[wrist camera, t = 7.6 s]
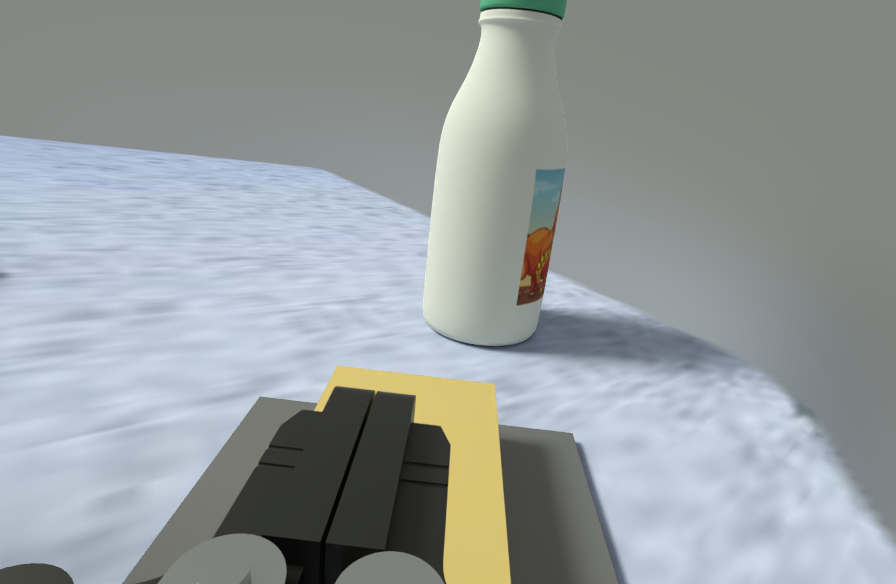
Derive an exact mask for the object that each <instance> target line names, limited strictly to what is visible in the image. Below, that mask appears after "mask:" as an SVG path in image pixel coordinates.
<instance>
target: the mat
mask: <svg viewBox="0 0 896 584" xmlns="http://www.w3.org/2000/svg"><path fill="white" fill-rule="evenodd" d="M317 404H318V403H309V402H301V401H292V400H284V399H275V398H267V397H259V399H258V400H257V401H256V403H255V404H254V406H253V407H252V408H251V410H250V411H249V412H248V414H247V415H246V416H245V418H244V419H243V421H242V422H241V423H240V425H239V426H238V427H237V429H236V430H235V431H234V433H233V434H232V435H231V437H230V438H229V440H228V441H227V442H226V444H225V445H224V446H223V448H222V449H221V450H220V452H219V453H218V454H217V456H216V457H215V459H214V460H213V461H212V463H211V464H210V465H209V467H208V468H207V469H206V471H205V472H204V473H203V475H202V476H201V478H200V479H199V480H198V482H197V483H196V484H195V486H194V487H193V488H192V490H191V491H190V493H189V494H188V495H187V497H186V498H185V499H184V501H183V502H182V503H181V505H180V506H179V507H178V509H177V510H176V512H175V513H174V514H173V516H172V517H171V518H170V520H169V521H168V522H167V524H166V525H165V526H164V528H163V529H162V531H161V532H160V533H159V535H158V536H157V537H156V539H155V540H154V541H153V543H152V544H151V545H150V547H149V548H148V550H147V551H146V552H145V554H144V555H143V556H142V558H141V559H140V560H139V562H138V563H137V565H136V566H135V567H134V569H133V570H132V571H131V573H130V574H129V575H128V577H127V578H126V579H125V581H124V582H123V584H136V583H140V582H145V581H148V580H151V579H155V578H158V577H160V576H163V575H165V573H166V572H167V571H168V569H169V568H170V567H171V566H172V565H173V564H174V562H175V561H176V560H178V559H179V558H180V557H181V556H182V555H183V554H184V553H186V552H187V551H189V550H190V549H192V548H193V547H195V546H197V545H199V544H201V543H202V542H205V541H207V540H210V539H212V538H213V536H214V535H215V533H216V531H217V530H218V528H219V527H220V525H221V523H222V522H223V520H224V518H225V517H226V515H227V513H228V512H229V510H230V508H231V507H232V505H233V503H234V502H235V500H236V498H237V497H238V495H239V493H240V492H241V490H242V488H243V487H244V485H245V484H246V482H247V480H248V479H249V477H250V475H251V474H252V472H253V470H254V469H255V467H256V466H257V467H258V463H259V460H260V459H261V457H262V455H263V454H264V452H265V450H266V449H268V448H269V444H270V442H271V441H272V439H273V437H274V436H275V434H276V432H277V431H278V429H279V427H280V426H281V425H282V424H283V423H284V422H286V421H287V420H288V419H290V418H291V417H293V416H294V415H295V414H297V413H298V412H300V411H301V410H311V411H314V410H315V408H316V406H317ZM498 430H499V442H500V455H501V467H502V479H503V492H504V504H505V517H506V529H507V541H508V554H509V566H510V579H511V584H619V583H618V580H617V577H616V573H615V570H614V567H613V564H612V560H611V557H610V554H609V551H608V547H607V544H606V541H605V538H604V534H603V531H602V528H601V525H600V521H599V518H598V515H597V512H596V508H595V505H594V502H593V499H592V495H591V492H590V489H589V486H588V482H587V479H586V476H585V473H584V469H583V466H582V463H581V460H580V456H579V453H578V450H577V447H576V443H575V440H574V437H573V434H572V433H565V432H557V431H548V430H540V429H531V428H523V427H514V426H506V425H498Z"/></svg>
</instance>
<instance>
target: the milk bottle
mask: <svg viewBox="0 0 896 584" xmlns="http://www.w3.org/2000/svg"><path fill="white" fill-rule="evenodd" d="M566 2H567V0H481V3H480V11H481V15H480V20H479V21H478V23H479V24H480V25H481V27H482V33H481V40H480V44H479V47H478V50H477V53H476V56H475V58H474V62H473V64H472V66H471V68H470V71H469V73H468V75H467V77H466V79H465V81H464V83H463V84H462V86H461V88H460V90H459V92H458V94H457V95H456V97H455V99H454V101H453V103H452V105H451V107H450V110H449V112H448V115H447V117H446V120H445V123H444V127H443V131H442V135H441V140H440V145H439V152H438V159H437V167H436V175H435V184H434V194H433V203H432V213H431V222H430V232H429V243H428V253H427V263H426V274H425V284H424V295H423V315H424V318H425V321H426V323H427V324H428V325H429V326H430V327H431V328H432V329H433V330H435V331H436V332H438V333H440V334H442V335H443V336H446V337H449V338H451V339H454V340H457V341H461V342H464V343H470V344H475V345H485V346H504V345H512V344H517V343H520V342H522V341H525V340H527V339H528V338H530V337H531V335H532V334H533V332H534V331H535V330H536V328H537V324H538V319H539V315H540V310H541V305H542V299H543V294H544V288H545V283H546V277H547V272H548V266H549V260H550V255H551V250H552V244H553V238H554V233H555V227H556V221H557V215H558V210H559V204H560V198H561V192H562V186H563V179H564V172H565V165H566V157H567V126H566V119H565V114H564V109H563V105H562V102H561V97H560V93H559V88H558V83H557V77H556V69H555V54H554V52H555V41H556V37H557V34H558V33H560V32H561V31H562V29H561V23H562V22H561V21H562V19H563V17H564V13H565V8H566Z"/></svg>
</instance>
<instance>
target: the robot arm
mask: <svg viewBox="0 0 896 584" xmlns="http://www.w3.org/2000/svg"><path fill="white" fill-rule="evenodd" d="M415 404H416V395H409V394H400V393H392V392H383V391H377V393H375V390H367V389H359V388H350V387H341V386H335V388H334V389H333V391H332V393H331V395H330V397H329V399H328V401H327V403H326V405H325V407H324V409H323V411H322V412H319V411H311V410H301V411H300V412H298V413H297V414H295V415H294V416H293V417H291V418H290V419H288V420H287V421H286V422H284V423H283V424H282V425H281V426H280V427H279V429H278V431H277V432H276V434H275V436H274V437H273V439H272V441H271V442H270V444H269V448H268V449H266V450H265V452H264V454H263V455H262V457H261V459H260V460H259V463H258V467H257V466H256V467H255V469H254V470H253V472H252V474H251V475H250V477H249V479H248V480H247V482H246V484H245V485H244V487H243V488H242V490H241V492H240V493H239V495H238V497H237V498H236V500H235V502H234V503H233V505H232V507H231V508H230V510H229V512H228V513H227V515H226V517H225V518H224V520H223V522H222V523H221V525H220V527H219V528H218V530H217V531H216V533H215V535H214V536H213V538H212V539H210V540H207V541H205V542H202V543H201V544H199V545H197V546H195V547H193V548H192V549H190V550H189V551H187V552H186V553H184V554H183V555H182V556H181V557H180V558H179V559H178V560H176V561H175V562H174V564H173V565H172V566H171V567H170V568H169V569H168V571H167V572H166V573H165V575H163V576H160V577H158V578H155V579H151V580H148V581H145V582H140V583H136V584H446V581H445V577H444V572H443V558H444V543H445V527H446V512H447V496H448V481H449V465H450V450H451V444H450V443H449V441H448V439H447V437H446V435H445V433H444V431H443V430H442V428H441V426H437V425H429V424H420V423H414V415H415ZM0 584H74V583H73V580H72V578H71V577H70V576H69V574H68V573H67V572H65V571H64V570H63V569H61V568H59V567H56V566H53V565H48V564H36V563H31V564H22V565H16V566H12V567H7V568H4V569H1V570H0Z"/></svg>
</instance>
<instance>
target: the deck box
mask: <svg viewBox="0 0 896 584" xmlns="http://www.w3.org/2000/svg"><path fill="white" fill-rule="evenodd" d="M335 386H341V387H350V388H359V389H367V390H375V393H377V391H383V392H392V393H400V394H409V395H416V404H415V415H414V423H420V424H429V425H437V426H441V428H442V430H443V431H444V433H445V435H446V437H447V439H448V441H449V443H450V444H451V450H450V465H449V481H448V496H447V512H446V527H445V543H444V558H443V572H444V577H445V581H446V584H511V579H510V566H509V554H508V541H507V529H506V517H505V504H504V492H503V479H502V467H501V455H500V442H499V430H498V418H497V405H496V393H495V384H489V383H481V382H472V381H464V380H455V379H446V378H438V377H429V376H421V375H412V374H404V373H395V372H386V371H378V370H369V369H361V368H352V367H343V366H337V368H336V370H335V371H334V373H333V375H332V377H331V379H330V381H329V383H328V385H327V387H326V389H325V391H324V392H323V394H322V396H321V398H320V400H319V402H318V404H317V406H316V408H315V410H314V411H319V412H322V411H323V409H324V407H325V405H326V403H327V401H328V399H329V397H330V395H331V393H332V391H333V389H334V388H335Z"/></svg>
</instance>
